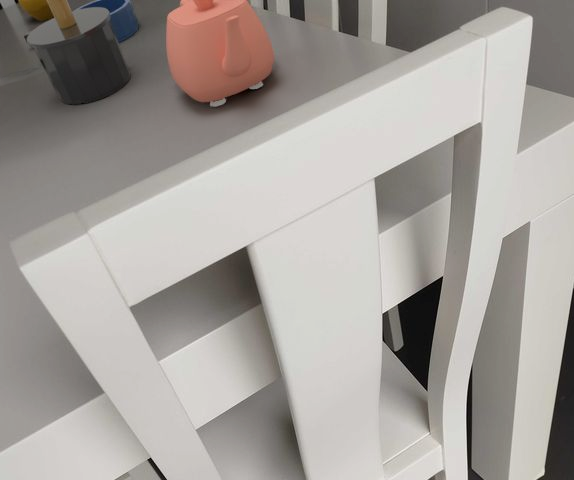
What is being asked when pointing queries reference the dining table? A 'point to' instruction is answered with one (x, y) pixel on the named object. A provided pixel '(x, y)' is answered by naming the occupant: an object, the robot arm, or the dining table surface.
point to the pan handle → (26, 35)
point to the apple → (37, 9)
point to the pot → (86, 67)
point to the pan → (118, 16)
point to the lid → (67, 25)
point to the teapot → (217, 48)
